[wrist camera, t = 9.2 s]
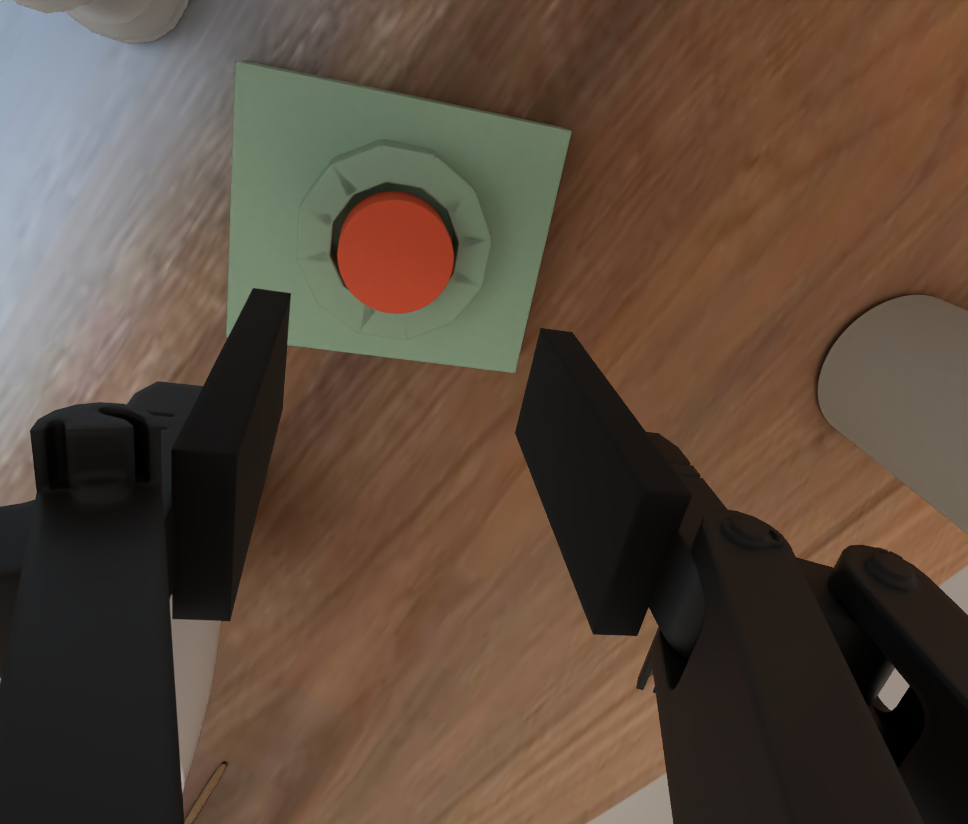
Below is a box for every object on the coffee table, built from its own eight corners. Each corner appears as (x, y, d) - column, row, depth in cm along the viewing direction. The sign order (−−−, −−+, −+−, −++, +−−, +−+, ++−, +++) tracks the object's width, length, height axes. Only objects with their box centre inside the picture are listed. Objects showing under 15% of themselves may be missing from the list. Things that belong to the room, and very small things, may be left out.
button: (333, 291, 25) (331, 306, 24) (345, 181, 24) (343, 189, 22) (439, 306, 26) (443, 321, 25) (457, 200, 25) (463, 210, 23)
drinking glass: (225, 565, 35) (137, 876, 22) (86, 518, 32) (-109, 836, 19) (282, 464, 32) (223, 741, 19) (137, 405, 30) (-42, 676, 17)
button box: (235, 319, 29) (216, 355, 25) (245, 60, 25) (225, 60, 21) (506, 354, 32) (523, 391, 28) (557, 125, 27) (585, 135, 24)
